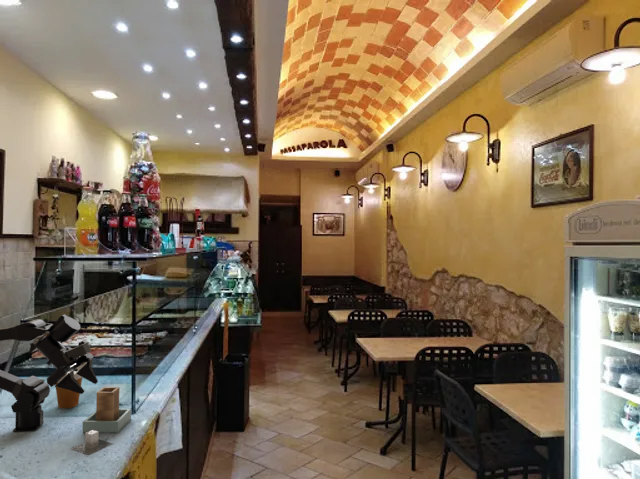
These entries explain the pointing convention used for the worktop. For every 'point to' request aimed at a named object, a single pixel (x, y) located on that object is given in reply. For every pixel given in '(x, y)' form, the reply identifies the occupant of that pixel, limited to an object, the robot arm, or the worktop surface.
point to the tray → (107, 423)
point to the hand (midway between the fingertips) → (90, 387)
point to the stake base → (90, 451)
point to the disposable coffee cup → (68, 395)
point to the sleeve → (107, 404)
